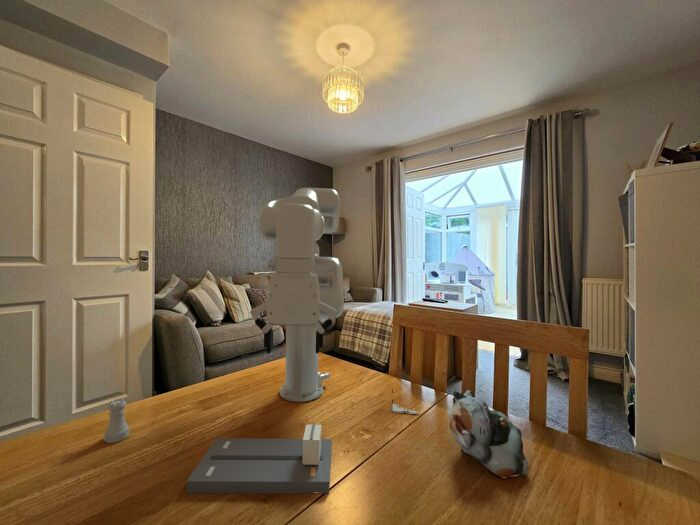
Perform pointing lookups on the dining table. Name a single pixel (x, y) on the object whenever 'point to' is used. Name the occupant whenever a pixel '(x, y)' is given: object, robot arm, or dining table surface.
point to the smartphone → (402, 409)
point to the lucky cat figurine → (487, 435)
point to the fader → (312, 445)
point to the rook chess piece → (116, 422)
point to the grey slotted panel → (260, 467)
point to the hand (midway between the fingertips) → (293, 350)
